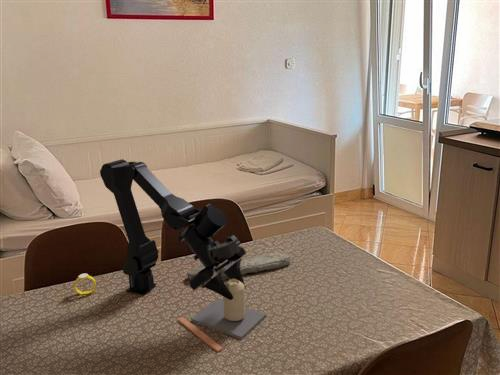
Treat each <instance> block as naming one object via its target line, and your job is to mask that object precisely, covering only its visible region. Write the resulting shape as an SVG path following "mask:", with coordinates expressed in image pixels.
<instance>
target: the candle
mask: <svg viewBox="0 0 500 375" xmlns="http://www.w3.org/2000/svg"><path fill="white" fill-rule="evenodd" d="M224 284H225V285H226V287H227V288H228V290H229V291H230V293H231V294H232V296H233V299H232V300H229V299H227V298H225V297H223V300H224V317H225V318H226V319H227V320H230V321H238V320H241V319H243V318H244V316H245V307H246V299H245V298H246V296H245V295H246V293H245V292H246V289H245V287H246V285H245V286H244V284H245V283H244V284H243V283H242V282H240V281H238V280H236V279H228V281H227V282H224Z"/></svg>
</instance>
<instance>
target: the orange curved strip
mask: <svg viewBox="0 0 500 375" xmlns="http://www.w3.org/2000/svg"><path fill="white" fill-rule="evenodd" d="M177 321H178V322H179V323H180V324H182V325H183V326H184V327H186V329H188V330H189V331H190V332H192V333H193V334H194V335H195V336H197V337H198V338H200V339H201V340H202V341H203V342H204V343H206V344H207V345H208V346H209V347H211V348H212V349H213V350H214V351H216V352H217V353H218V352H220V351H223V350H224V349H223V347H222V346H221V345H220V344H219V343H218V342H216V341H215V340H213V339H212V338H211V337H210V336H208V335H207V334H206V333H204V332H203V331H201V330H200V329H199V328H198V327H197V326H195V325H194V324H193V323H191V321H189V320H188V319H186V318H185V317H183V316H181V317H178V318H177Z"/></svg>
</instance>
